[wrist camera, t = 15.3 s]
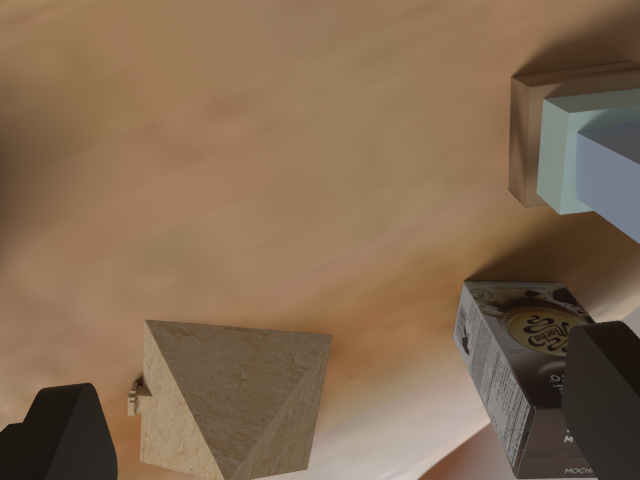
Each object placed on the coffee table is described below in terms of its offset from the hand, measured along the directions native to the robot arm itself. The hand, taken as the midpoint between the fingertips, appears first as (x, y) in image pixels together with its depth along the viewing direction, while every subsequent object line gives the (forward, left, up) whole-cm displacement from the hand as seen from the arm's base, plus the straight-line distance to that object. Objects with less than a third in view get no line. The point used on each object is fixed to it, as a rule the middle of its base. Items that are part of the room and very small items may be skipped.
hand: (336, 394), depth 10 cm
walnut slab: (+8, +21, -36) cm, 43 cm away
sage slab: (+8, +21, -32) cm, 39 cm away
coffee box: (+24, +17, -36) cm, 47 cm away
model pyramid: (+30, -8, -37) cm, 48 cm away
